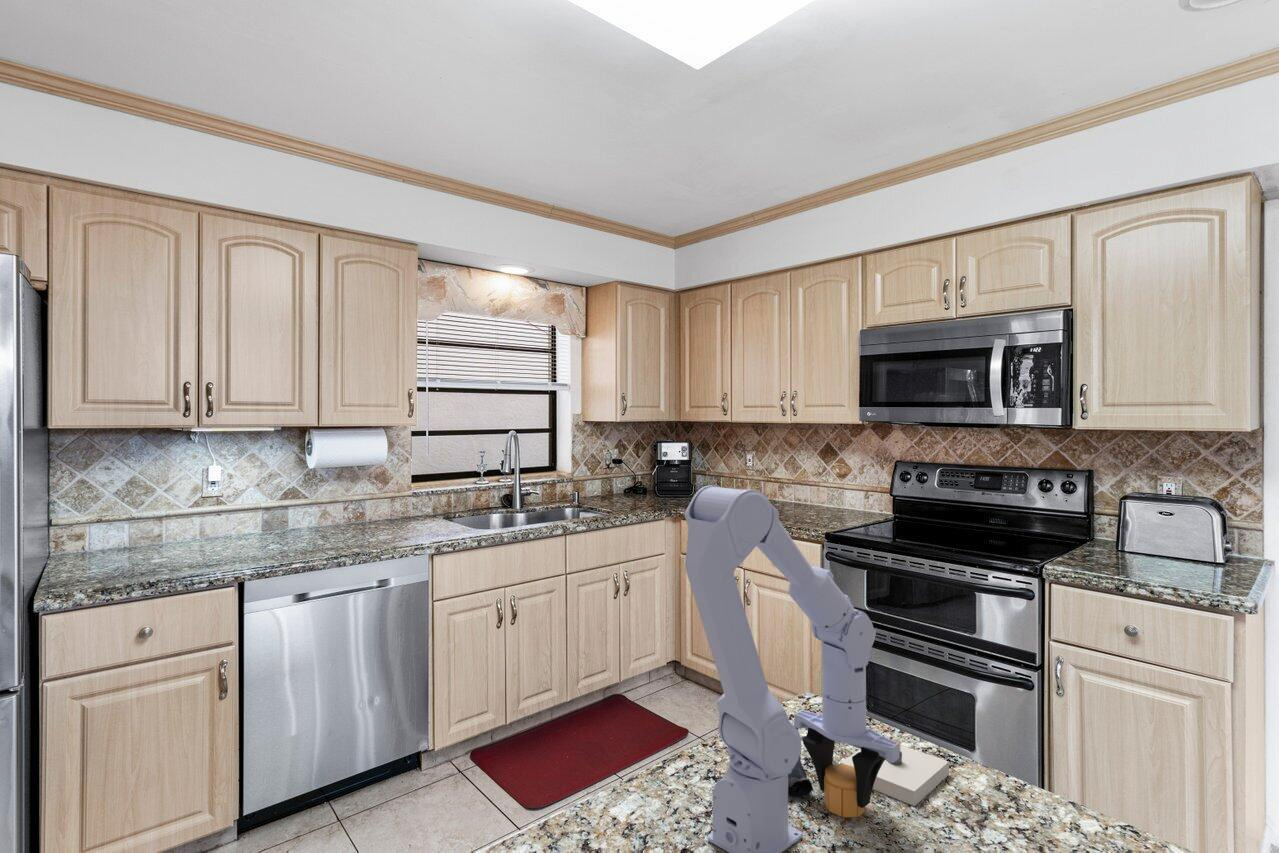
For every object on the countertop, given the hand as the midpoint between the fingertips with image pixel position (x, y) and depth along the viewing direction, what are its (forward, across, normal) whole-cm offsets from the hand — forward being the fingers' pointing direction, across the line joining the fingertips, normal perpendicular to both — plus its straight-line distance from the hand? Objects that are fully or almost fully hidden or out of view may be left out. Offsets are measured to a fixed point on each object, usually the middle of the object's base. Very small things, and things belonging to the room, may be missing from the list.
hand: (844, 796), depth 88 cm
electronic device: (+2, +12, -1) cm, 12 cm away
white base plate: (+1, -1, -13) cm, 13 cm away
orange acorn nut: (+1, 0, 0) cm, 1 cm away
